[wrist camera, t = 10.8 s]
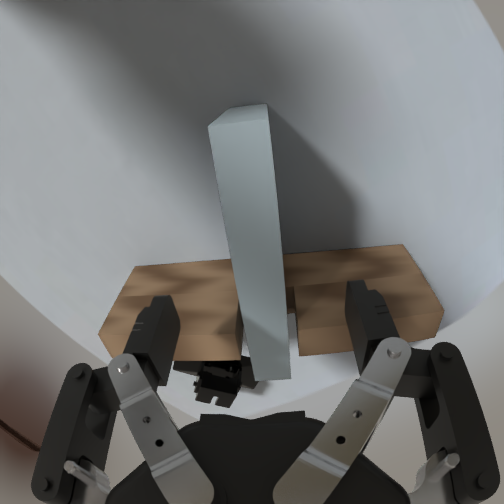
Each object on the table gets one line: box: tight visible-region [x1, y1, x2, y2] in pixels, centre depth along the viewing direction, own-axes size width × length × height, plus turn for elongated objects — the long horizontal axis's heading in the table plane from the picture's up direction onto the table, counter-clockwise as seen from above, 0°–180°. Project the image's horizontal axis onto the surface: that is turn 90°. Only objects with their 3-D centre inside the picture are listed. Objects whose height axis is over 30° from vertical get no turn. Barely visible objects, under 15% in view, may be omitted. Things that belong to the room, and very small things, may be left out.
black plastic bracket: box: [173, 355, 259, 408], centre depth 30 cm, size 12×7×5 cm, turn 72°
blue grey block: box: [208, 104, 291, 381], centre depth 19 cm, size 16×2×8 cm, turn 7°
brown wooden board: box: [98, 244, 444, 361], centre depth 21 cm, size 22×2×8 cm, turn 97°
